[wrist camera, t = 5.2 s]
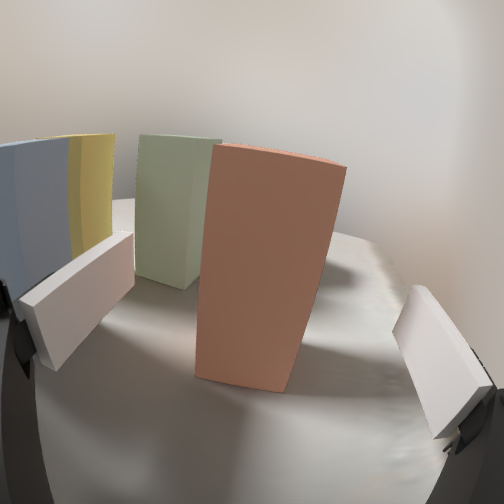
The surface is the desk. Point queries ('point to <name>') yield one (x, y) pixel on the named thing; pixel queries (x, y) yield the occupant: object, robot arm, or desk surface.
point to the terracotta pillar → (261, 261)
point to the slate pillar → (33, 212)
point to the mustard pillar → (89, 189)
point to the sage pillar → (171, 207)
